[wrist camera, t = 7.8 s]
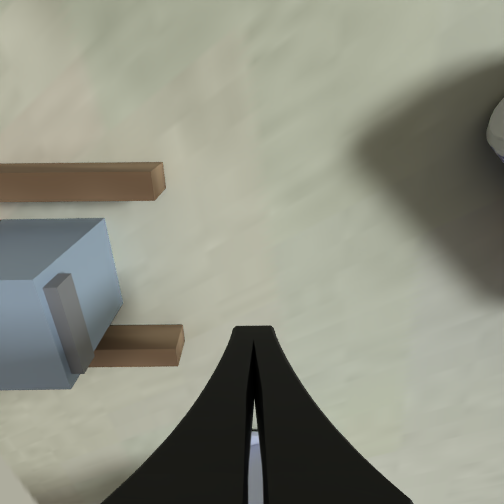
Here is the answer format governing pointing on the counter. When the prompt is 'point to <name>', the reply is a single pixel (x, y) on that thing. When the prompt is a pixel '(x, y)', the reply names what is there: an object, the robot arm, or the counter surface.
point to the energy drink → (497, 130)
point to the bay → (102, 189)
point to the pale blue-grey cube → (53, 299)
